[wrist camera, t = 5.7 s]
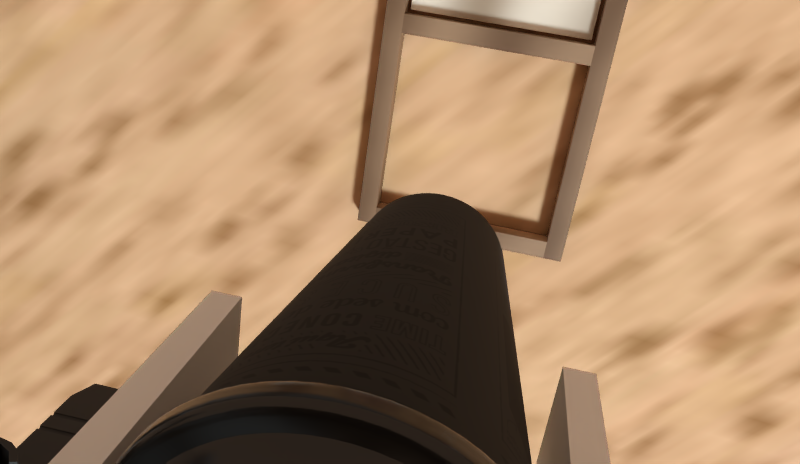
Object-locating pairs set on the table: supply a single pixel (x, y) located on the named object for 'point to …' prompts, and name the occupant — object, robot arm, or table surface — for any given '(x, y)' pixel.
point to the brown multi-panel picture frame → (517, 7)
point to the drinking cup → (372, 359)
